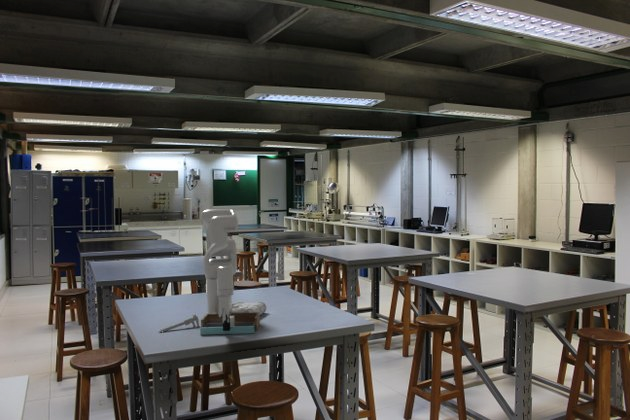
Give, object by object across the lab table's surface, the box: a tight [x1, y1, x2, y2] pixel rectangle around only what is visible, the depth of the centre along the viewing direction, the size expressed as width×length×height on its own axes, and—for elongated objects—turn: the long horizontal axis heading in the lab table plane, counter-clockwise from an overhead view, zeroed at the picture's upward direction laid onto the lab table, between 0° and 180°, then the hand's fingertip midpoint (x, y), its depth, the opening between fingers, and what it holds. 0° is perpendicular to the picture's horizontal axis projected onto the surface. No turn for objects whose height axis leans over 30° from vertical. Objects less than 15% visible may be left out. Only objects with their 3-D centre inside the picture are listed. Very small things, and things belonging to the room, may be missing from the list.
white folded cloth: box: [232, 301, 267, 317], centre depth 272 cm, size 19×28×8 cm
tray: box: [199, 322, 256, 336], centre depth 243 cm, size 12×26×3 cm, turn 91°
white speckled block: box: [229, 316, 235, 327], centre depth 243 cm, size 5×5×6 cm
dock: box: [200, 312, 261, 331], centre depth 248 cm, size 12×27×6 cm, turn 91°
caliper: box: [158, 313, 200, 333], centre depth 249 cm, size 20×1×6 cm, turn 124°
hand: (226, 330), depth 235 cm, fingers closed
